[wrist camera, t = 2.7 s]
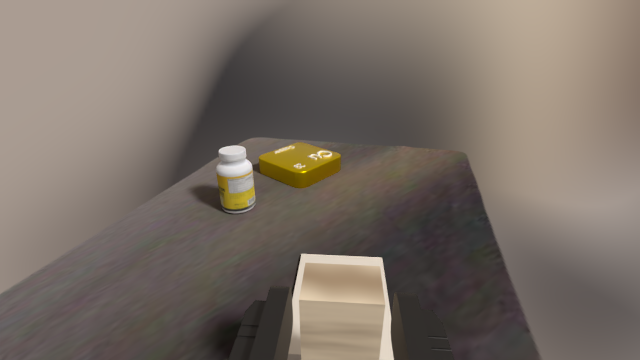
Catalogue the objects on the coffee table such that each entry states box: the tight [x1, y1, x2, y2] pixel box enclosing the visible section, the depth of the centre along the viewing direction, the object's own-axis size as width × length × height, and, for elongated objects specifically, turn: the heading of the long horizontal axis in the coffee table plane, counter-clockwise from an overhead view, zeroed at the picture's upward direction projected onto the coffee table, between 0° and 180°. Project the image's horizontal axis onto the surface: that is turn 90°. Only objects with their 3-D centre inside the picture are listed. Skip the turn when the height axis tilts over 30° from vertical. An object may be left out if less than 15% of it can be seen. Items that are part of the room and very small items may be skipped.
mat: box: [287, 254, 394, 360], centre depth 40 cm, size 18×12×1 cm, turn 176°
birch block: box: [299, 263, 385, 360], centre depth 27 cm, size 4×6×14 cm, turn 86°
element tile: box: [259, 142, 341, 188], centre depth 78 cm, size 15×15×5 cm
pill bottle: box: [216, 146, 256, 214], centre depth 60 cm, size 6×6×12 cm
